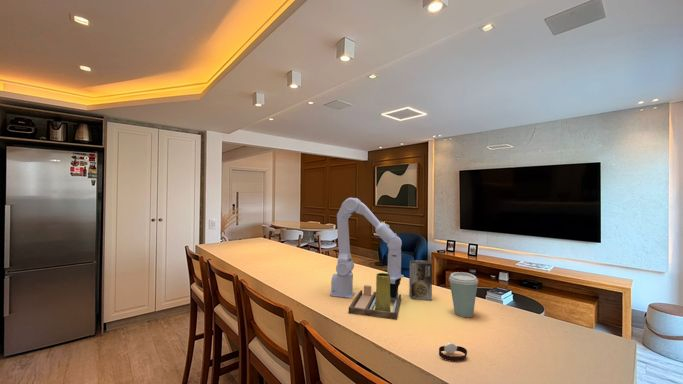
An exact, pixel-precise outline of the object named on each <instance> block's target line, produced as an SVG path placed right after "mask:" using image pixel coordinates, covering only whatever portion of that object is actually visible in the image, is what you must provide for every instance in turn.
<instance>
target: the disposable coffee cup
mask: <svg viewBox="0 0 683 384" xmlns="http://www.w3.org/2000/svg"><path fill="white" fill-rule="evenodd" d="M448 281H449V284H450V285H449V287H450V290H451V292H450V293H451V298H452V304H453V309H454V312H455V313H454V314H455V315H457V316H459V317H463V318H471V317H473V315H474V311H475V305H476V304H475V303H476V298H477V297H476V296H477V291H478V284H479V279H478V278H477V276H475V275H474V274H472V273H469V272H463V271H460V272H459V271H457V272H456V271H455V272H451V273H450V275H449V277H448Z"/></svg>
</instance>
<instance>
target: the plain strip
mask: <svg viewBox="0 0 683 384" xmlns="http://www.w3.org/2000/svg"><path fill="white" fill-rule="evenodd" d="M372 295H373V294H372V285H367V284H364V286H363V293H362V296H361V297H360V299H359V300H358V302H357V304H356V305H355V307H356V308H363V309H365V308H366V306H367V304H368V303H369V301H370V299H371V297H372Z"/></svg>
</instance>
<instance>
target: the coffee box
mask: <svg viewBox="0 0 683 384" xmlns="http://www.w3.org/2000/svg"><path fill="white" fill-rule="evenodd" d="M408 282H409V283H408V285H409V286H408V287H409V289H408V293H409V294H408V295H409V298H410V299H411V300H415V301H417V300H418V301H419V300H420V301H432V300H433V299H432V298H433V287H432V286H433V263H432V262H431V261H430V260H420V259H419V260H417V259H412V260H411V259H410V260H409V280H408Z"/></svg>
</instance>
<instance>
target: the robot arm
mask: <svg viewBox="0 0 683 384" xmlns="http://www.w3.org/2000/svg"><path fill="white" fill-rule="evenodd" d="M354 213H356V214H358V215H359V214H360V215H362V216H364V218H365V219H367V221H368V222H369V223H370V224H371V225H372V226H373V227H374V228H375V233H376V234H377V235H378V236H379V238H380V239H382V241H383V242H384V243H386V247H387V248H388V253H387V274H390V296H391V298H396V295H397V289H398V290H399V286H400V284H401V281H402V278H404V274H402V244H403V243H402V242H403V241H402V239H401V238H400V236H398V234H397V233H396V232H395V233H394V231H393V230H392V229H391V228H390V225H389V224H387V223H385V222H381V221H380V220H379V219H378V218H377V216H376V215H374V213H373V212H372V211H371V210H370V209H369V207H368V206H367V205H366V204H364V203H363V202H362V201H361V200H360V198H357V197H348V198H346V199H345V200H344V201H343V202H341V206H340V208H339V210H338V212H337V213H336V223H337V225H336V228H337V241H338V242H337V244H338V257H337V264H336V268H335V271H336V273H333V274H332V277H331V285H330V296H332V297H338V298H346V299H351V298H353V296H354V295H355V293H356V292H355V291H354V290H353V287H354V286H353V283H354V277H353V276H354V273H353V269H354V268H355V263H354V260H353V257H352V253H351V248H350V244H351V243H350V230H349V228H350V227H349V218H351V216H352V215H353V214H354Z"/></svg>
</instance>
